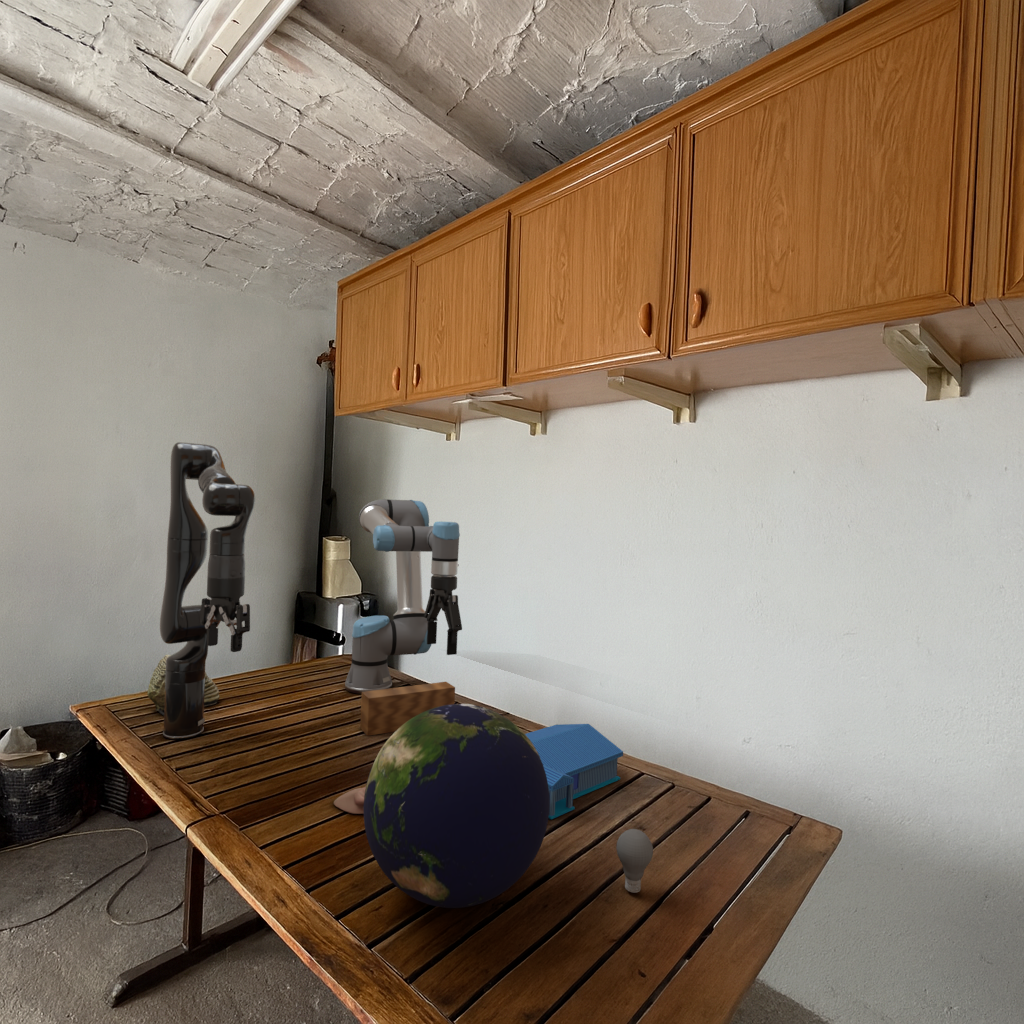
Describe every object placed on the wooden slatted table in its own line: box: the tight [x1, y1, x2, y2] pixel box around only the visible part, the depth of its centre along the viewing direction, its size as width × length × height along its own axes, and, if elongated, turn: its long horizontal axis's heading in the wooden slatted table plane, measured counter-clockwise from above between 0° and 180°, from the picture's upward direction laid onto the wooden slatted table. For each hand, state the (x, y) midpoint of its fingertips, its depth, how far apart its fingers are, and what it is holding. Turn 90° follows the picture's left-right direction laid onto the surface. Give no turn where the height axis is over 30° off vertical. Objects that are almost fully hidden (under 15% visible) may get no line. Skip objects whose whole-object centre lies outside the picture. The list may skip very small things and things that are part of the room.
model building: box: [524, 723, 624, 820], centre depth 142 cm, size 39×24×10 cm, turn 132°
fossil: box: [147, 654, 221, 711], centre depth 185 cm, size 9×18×15 cm, turn 132°
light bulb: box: [615, 828, 654, 894], centre depth 106 cm, size 6×6×10 cm
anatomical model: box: [333, 786, 366, 815], centre depth 132 cm, size 13×4×12 cm
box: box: [359, 681, 456, 737], centre depth 178 cm, size 26×6×10 cm, turn 121°
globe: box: [363, 703, 549, 909], centre depth 103 cm, size 30×30×30 cm
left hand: (223, 648), depth 139 cm, fingers open, 8 cm apart
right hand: (441, 649), depth 182 cm, fingers open, 13 cm apart
